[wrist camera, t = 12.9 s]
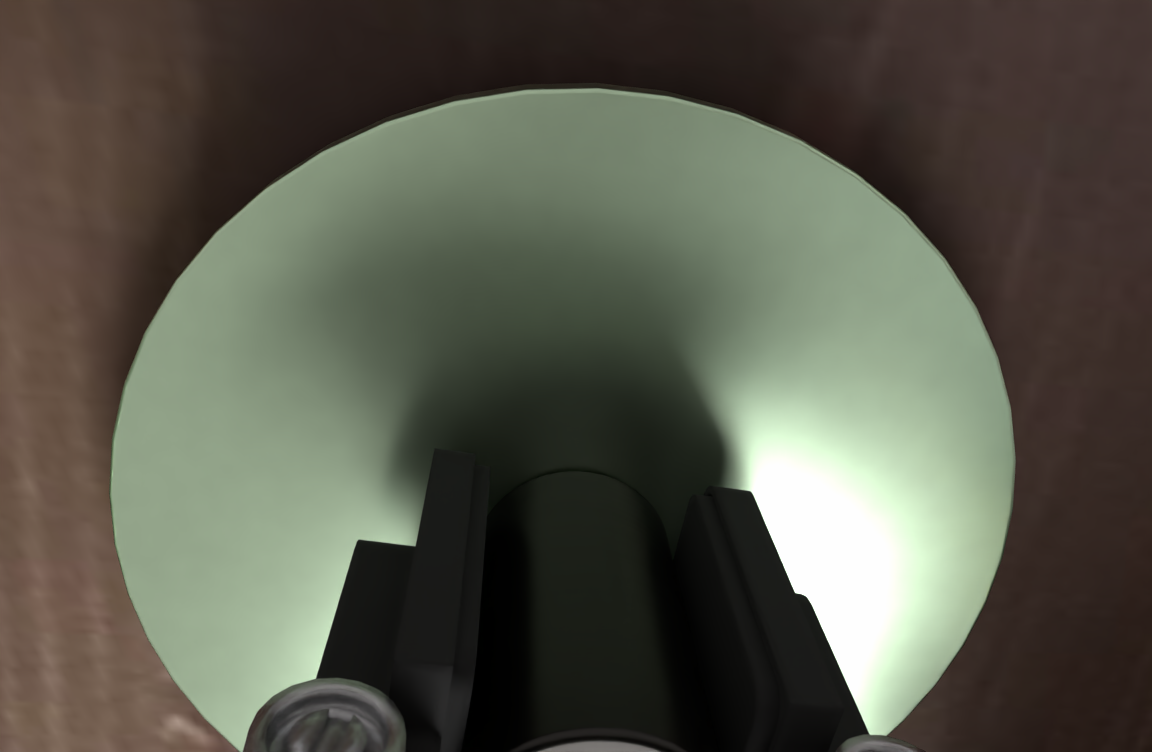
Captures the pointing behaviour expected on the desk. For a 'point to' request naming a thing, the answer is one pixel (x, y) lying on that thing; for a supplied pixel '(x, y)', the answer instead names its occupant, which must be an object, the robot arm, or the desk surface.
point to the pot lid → (563, 409)
